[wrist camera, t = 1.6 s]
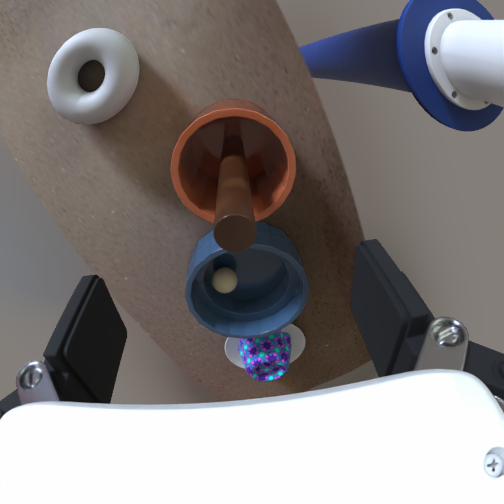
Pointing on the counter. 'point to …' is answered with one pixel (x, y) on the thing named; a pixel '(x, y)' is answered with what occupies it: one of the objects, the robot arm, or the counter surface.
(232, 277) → the dough ball
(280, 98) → the counter surface
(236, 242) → the stick
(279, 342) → the pudding
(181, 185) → the crock
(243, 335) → the bowl
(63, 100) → the donut
